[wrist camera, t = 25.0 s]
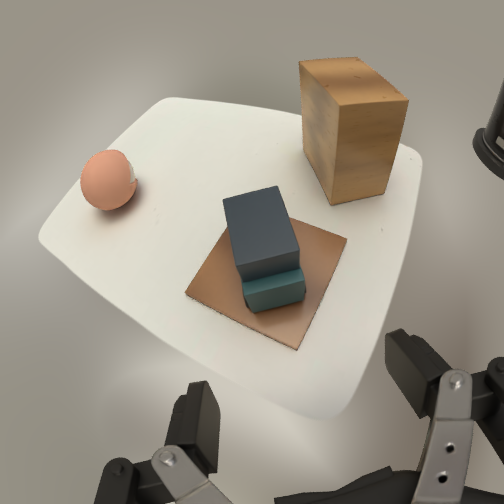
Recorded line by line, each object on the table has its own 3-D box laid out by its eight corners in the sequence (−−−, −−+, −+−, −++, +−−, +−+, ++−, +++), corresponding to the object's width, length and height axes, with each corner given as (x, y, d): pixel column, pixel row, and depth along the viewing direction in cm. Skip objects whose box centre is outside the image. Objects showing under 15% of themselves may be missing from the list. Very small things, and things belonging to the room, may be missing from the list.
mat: (244, 204, 32) (244, 201, 32) (346, 241, 28) (347, 238, 28) (186, 294, 28) (184, 292, 27) (296, 350, 24) (296, 349, 23)
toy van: (308, 301, 25) (312, 261, 18) (249, 316, 25) (230, 282, 18) (282, 222, 30) (277, 166, 23) (232, 235, 30) (213, 182, 23)
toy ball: (156, 181, 37) (133, 138, 30) (126, 227, 33) (94, 187, 27) (118, 175, 39) (94, 138, 32) (90, 215, 36) (59, 180, 29)
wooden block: (302, 149, 35) (298, 60, 24) (350, 141, 35) (357, 56, 24) (330, 205, 30) (339, 105, 19) (384, 193, 30) (409, 100, 19)
